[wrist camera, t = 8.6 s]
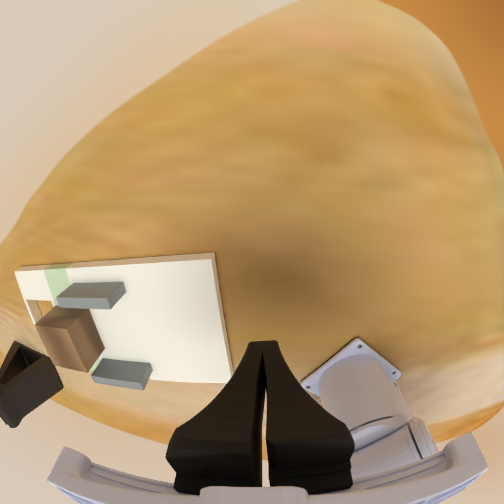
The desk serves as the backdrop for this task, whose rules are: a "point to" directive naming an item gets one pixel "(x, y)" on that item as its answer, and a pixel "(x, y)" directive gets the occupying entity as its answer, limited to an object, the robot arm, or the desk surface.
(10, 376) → the black open bin
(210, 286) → the board
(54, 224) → the desk surface
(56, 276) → the pad
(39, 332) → the block
